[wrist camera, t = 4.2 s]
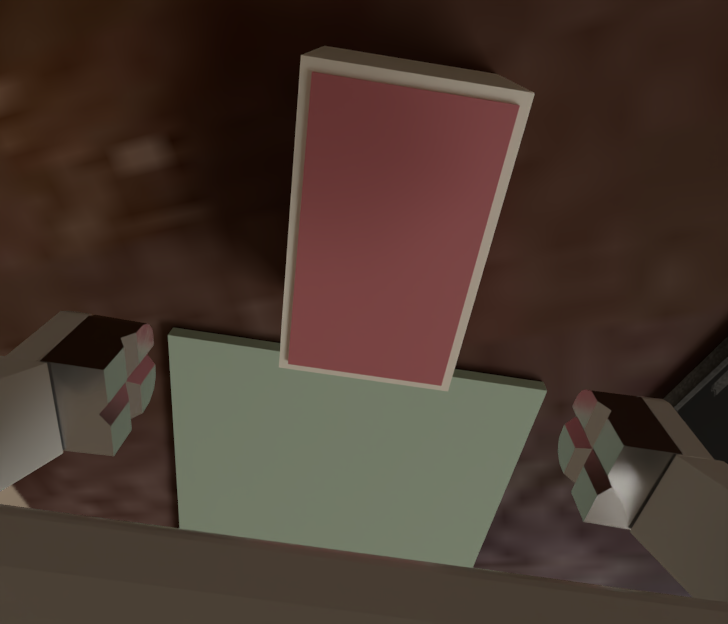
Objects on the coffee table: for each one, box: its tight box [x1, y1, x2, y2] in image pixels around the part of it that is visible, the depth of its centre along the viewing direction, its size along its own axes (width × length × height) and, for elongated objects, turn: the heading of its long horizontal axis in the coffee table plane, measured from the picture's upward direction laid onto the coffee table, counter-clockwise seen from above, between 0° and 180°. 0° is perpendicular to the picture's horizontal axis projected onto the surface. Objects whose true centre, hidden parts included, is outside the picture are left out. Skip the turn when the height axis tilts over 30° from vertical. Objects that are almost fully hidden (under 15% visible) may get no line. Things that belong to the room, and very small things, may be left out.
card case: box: [279, 46, 535, 391], centre depth 16 cm, size 9×6×5 cm, turn 172°
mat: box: [168, 327, 547, 568], centre depth 26 cm, size 20×16×1 cm
